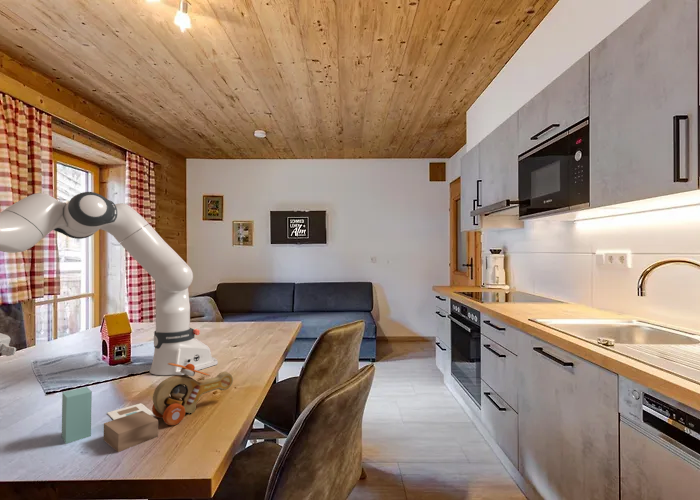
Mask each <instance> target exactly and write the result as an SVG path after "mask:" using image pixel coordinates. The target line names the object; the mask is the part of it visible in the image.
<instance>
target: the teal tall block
mask: <svg viewBox="0 0 700 500" xmlns="http://www.w3.org/2000/svg"><path fill="white" fill-rule="evenodd" d="M61 393H62V397H61V401H62V402H61V438H62V440H63V442H64V443H65V445H66V444H70V443H73V442H76V441H79V440H82V439H86V438H89V437H92V400H93V399H92V398H93V397H92V396H93V394H92V393H93V392H92V391H91V390H90V389H89V387H88V386H83V387H80V388H75V389H71V390H66V391H62V392H61Z"/></svg>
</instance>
